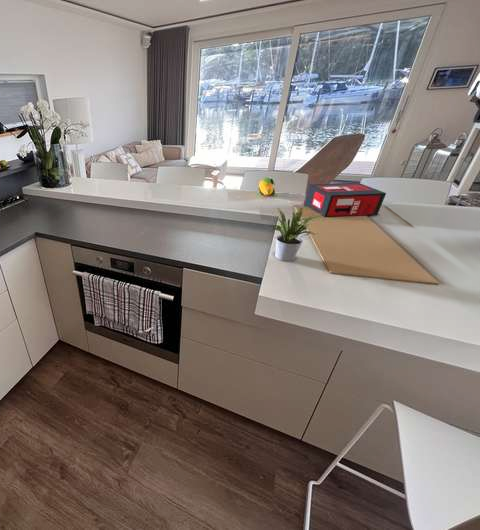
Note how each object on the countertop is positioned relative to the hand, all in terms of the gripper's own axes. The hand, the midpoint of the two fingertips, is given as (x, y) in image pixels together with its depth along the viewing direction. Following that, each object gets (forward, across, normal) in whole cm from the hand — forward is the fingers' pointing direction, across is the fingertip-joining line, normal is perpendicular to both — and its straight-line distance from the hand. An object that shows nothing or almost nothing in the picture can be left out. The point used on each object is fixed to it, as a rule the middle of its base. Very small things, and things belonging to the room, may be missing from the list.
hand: (479, 122), depth 91 cm
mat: (+33, +32, +21) cm, 51 cm away
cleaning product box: (+28, +18, -9) cm, 35 cm away
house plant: (+33, +54, +44) cm, 77 cm away
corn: (+33, +54, -26) cm, 69 cm away
